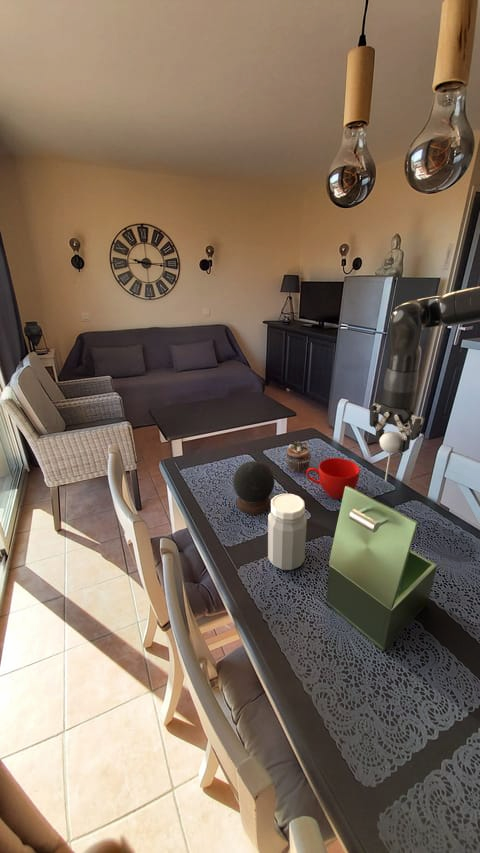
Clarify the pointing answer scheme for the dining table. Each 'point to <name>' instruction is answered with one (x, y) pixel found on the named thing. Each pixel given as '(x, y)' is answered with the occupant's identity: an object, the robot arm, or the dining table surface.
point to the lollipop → (390, 445)
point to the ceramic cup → (336, 476)
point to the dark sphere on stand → (253, 487)
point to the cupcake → (298, 457)
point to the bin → (372, 613)
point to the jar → (287, 532)
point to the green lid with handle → (372, 545)
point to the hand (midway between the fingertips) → (390, 446)
